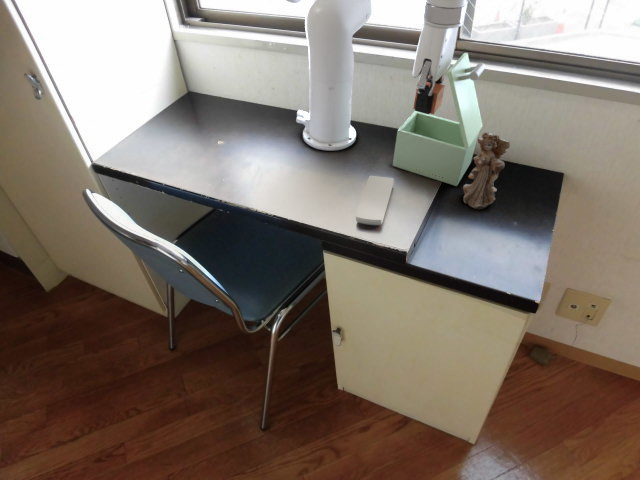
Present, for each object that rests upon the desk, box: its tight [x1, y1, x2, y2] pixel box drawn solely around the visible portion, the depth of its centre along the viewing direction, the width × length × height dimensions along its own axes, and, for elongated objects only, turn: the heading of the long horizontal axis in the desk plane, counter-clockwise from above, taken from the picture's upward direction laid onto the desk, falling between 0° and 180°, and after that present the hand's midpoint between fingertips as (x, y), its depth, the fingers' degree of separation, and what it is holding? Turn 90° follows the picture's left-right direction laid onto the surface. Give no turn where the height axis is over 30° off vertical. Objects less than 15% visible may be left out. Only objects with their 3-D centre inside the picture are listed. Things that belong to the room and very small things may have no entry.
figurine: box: [462, 131, 511, 210], centre depth 91 cm, size 7×6×15 cm
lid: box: [446, 52, 486, 148], centre depth 91 cm, size 15×10×4 cm
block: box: [412, 82, 446, 115], centre depth 96 cm, size 4×4×4 cm
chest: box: [392, 110, 480, 187], centre depth 102 cm, size 15×10×9 cm
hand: (427, 105), depth 97 cm, fingers closed on block, 4 cm apart
